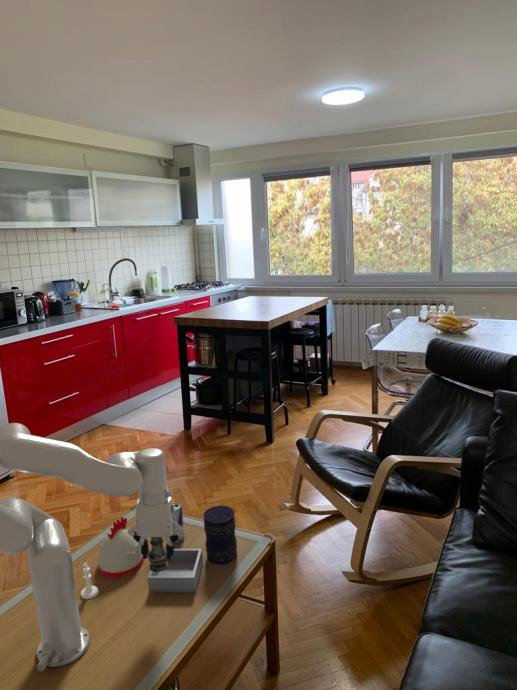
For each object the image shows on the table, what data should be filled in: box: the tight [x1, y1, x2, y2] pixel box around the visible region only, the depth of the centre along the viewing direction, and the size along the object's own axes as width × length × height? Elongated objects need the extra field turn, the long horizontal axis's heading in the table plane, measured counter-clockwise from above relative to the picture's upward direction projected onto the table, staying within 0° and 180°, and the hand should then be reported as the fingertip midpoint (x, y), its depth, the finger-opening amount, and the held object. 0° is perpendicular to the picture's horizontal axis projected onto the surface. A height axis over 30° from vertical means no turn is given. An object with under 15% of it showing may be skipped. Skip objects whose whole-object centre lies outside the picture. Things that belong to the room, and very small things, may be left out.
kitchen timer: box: [97, 516, 145, 578], centre depth 164 cm, size 14×14×15 cm
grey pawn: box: [146, 537, 169, 572], centre depth 140 cm, size 6×6×12 cm
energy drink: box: [173, 502, 185, 544], centre depth 176 cm, size 5×5×12 cm
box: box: [147, 548, 204, 594], centre depth 157 cm, size 14×14×5 cm
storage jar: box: [203, 505, 238, 566], centre depth 165 cm, size 10×10×15 cm
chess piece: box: [80, 562, 99, 600], centre depth 151 cm, size 5×5×10 cm
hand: (157, 555), depth 141 cm, fingers closed on grey pawn, 5 cm apart
